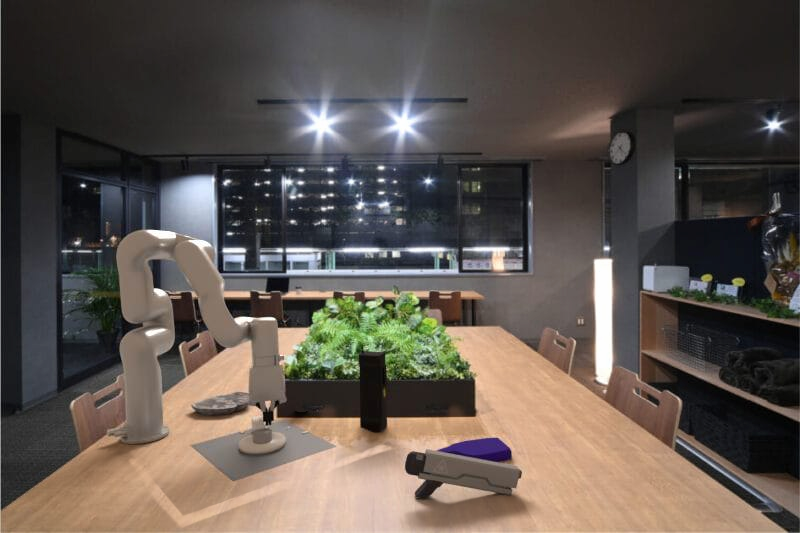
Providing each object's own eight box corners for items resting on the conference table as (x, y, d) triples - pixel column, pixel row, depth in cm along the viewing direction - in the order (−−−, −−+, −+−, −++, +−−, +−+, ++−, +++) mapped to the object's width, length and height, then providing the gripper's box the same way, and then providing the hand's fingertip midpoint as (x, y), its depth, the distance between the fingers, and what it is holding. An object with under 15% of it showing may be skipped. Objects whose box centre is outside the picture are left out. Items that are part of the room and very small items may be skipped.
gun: (398, 489, 106) (408, 445, 105) (510, 510, 107) (519, 466, 107) (399, 495, 103) (408, 449, 103) (513, 516, 105) (523, 471, 104)
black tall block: (391, 426, 147) (389, 343, 146) (384, 433, 141) (382, 347, 140) (367, 423, 149) (365, 342, 148) (359, 430, 144) (357, 346, 143)
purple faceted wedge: (496, 434, 132) (408, 446, 126) (515, 450, 121) (420, 464, 115) (496, 445, 132) (409, 458, 126) (515, 462, 121) (421, 477, 115)
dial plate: (233, 487, 110) (233, 480, 110) (190, 450, 131) (190, 444, 131) (336, 451, 129) (336, 445, 129) (284, 424, 150) (284, 418, 150)
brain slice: (213, 423, 153) (213, 413, 153) (185, 412, 163) (184, 403, 163) (265, 406, 168) (265, 397, 168) (236, 397, 179) (235, 389, 179)
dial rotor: (289, 449, 127) (289, 433, 127) (241, 457, 122) (241, 442, 122) (277, 426, 143) (277, 413, 143) (234, 433, 138) (234, 419, 138)
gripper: (292, 355, 145) (295, 416, 146) (239, 360, 142) (242, 422, 142) (292, 361, 138) (295, 425, 138) (237, 365, 134) (240, 431, 135)
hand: (268, 423), depth 140 cm, fingers closed
